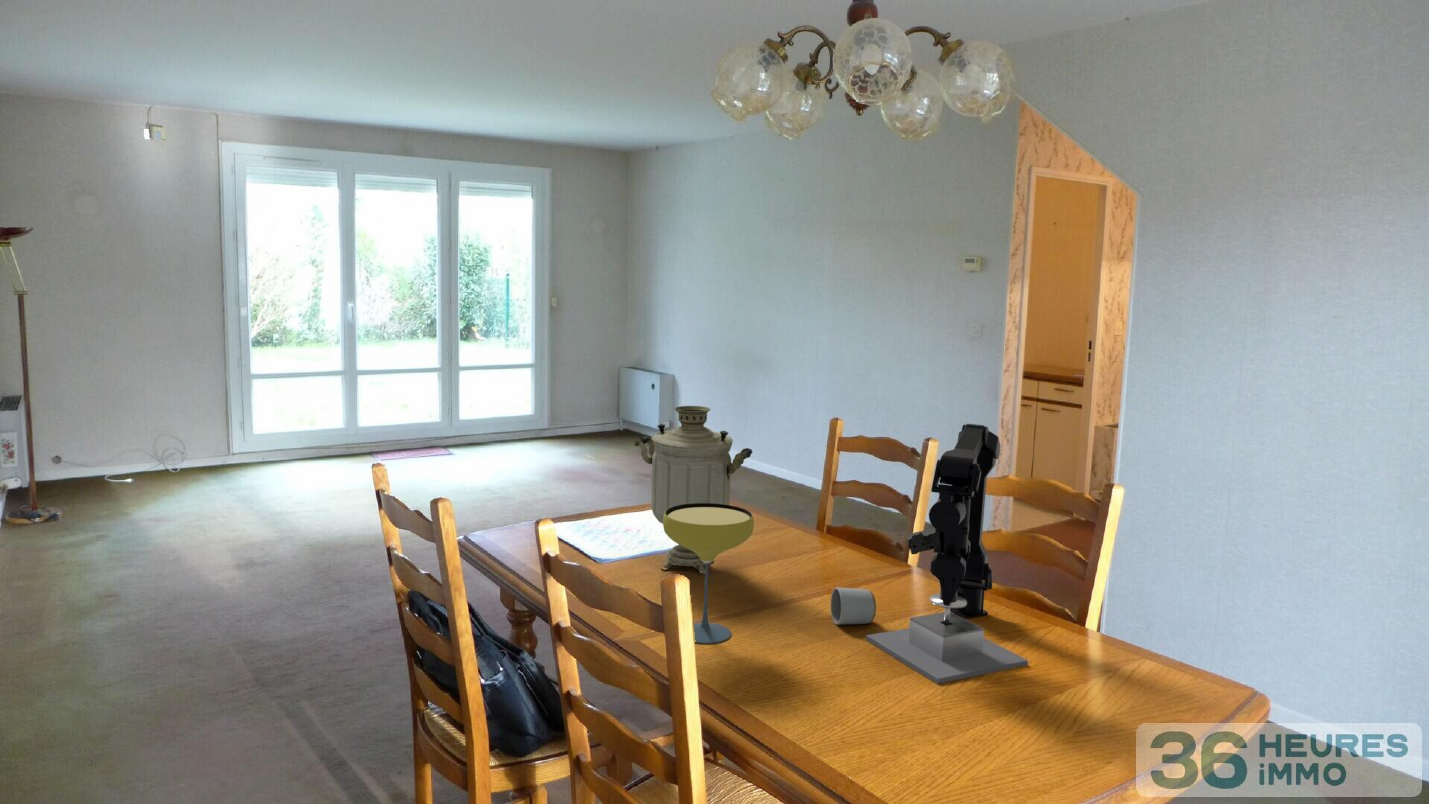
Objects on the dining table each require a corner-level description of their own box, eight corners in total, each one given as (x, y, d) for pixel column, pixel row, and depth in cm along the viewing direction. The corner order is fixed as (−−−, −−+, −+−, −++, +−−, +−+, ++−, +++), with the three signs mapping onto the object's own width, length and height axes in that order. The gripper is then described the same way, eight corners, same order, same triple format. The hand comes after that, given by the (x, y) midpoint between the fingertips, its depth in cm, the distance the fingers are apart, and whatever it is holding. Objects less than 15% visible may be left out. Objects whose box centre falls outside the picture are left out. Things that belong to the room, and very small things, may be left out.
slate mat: (950, 625, 196) (951, 620, 196) (1027, 665, 176) (1028, 660, 176) (865, 640, 186) (866, 635, 186) (937, 684, 167) (937, 678, 166)
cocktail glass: (647, 623, 191) (650, 505, 188) (727, 613, 198) (731, 500, 195) (679, 656, 175) (683, 528, 171) (764, 644, 182) (769, 521, 179)
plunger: (948, 617, 185) (951, 576, 184) (972, 629, 179) (975, 587, 178) (920, 621, 182) (923, 580, 181) (944, 634, 176) (947, 591, 175)
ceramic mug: (877, 628, 193) (879, 593, 192) (839, 630, 191) (841, 594, 190) (859, 611, 203) (861, 577, 202) (824, 612, 201) (825, 578, 201)
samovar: (771, 562, 236) (778, 407, 231) (717, 589, 214) (723, 419, 209) (676, 541, 252) (680, 396, 246) (616, 564, 230) (619, 405, 224)
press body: (947, 634, 188) (949, 611, 187) (982, 653, 179) (984, 628, 178) (908, 641, 183) (910, 617, 183) (941, 661, 174) (943, 635, 174)
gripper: (916, 504, 189) (912, 578, 191) (905, 526, 171) (900, 607, 173) (973, 510, 185) (967, 585, 188) (967, 533, 168) (961, 615, 170)
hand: (948, 597), depth 180 cm, fingers open, 9 cm apart
